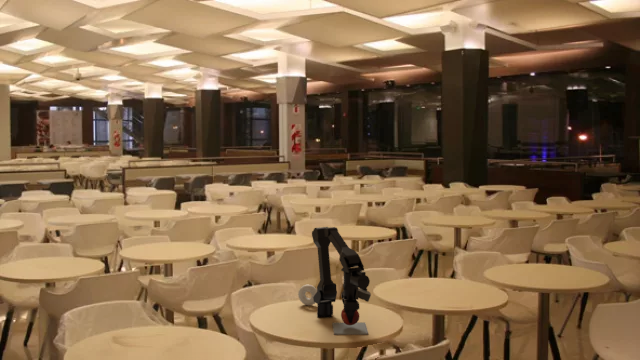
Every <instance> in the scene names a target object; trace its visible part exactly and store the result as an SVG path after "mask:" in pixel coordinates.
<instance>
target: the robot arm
mask: <svg viewBox="0 0 640 360" xmlns="http://www.w3.org/2000/svg"><path fill="white" fill-rule="evenodd" d="M311 237H312V242H313V243H314V245H315V247H316V248H317V258H318V268H319V269H318V271H319V282H318V284H317V286H316V289H317V292H316V294H315V295H314V297H313V299H314V302H315V304H316V306H317V310H316V317H317V318H333V315H334V304H332V303H335V302H336V300H337V294H338V291H337V283H334V281H333V280H332V275H331V274H332V273H331V271H332V270H331V262H330V249H329V247H330V245H332V246H333V247H334V248H335V250H336V252H337V254H339V255H338V256H339V258H338V260H339V262H340V265H341V266H342V268H340V269H341V270H340V271H342V272H343V284H342V288H343V290H342V291H341V301H342V304H343V309H344V310H345V313H346V315H347V318H348V321H349V323H352V321H353V317H354V313H355V311H356V310H357V311H358V310H360V302H359V299H360V300H363V301H365V302H367V303H368V302H369V301H370V299H371V295H372V293H371V292H370V291H368V287H369V286H370V281H371V280H370V278H369V276H368V275H366V273H367V272H366V271H365V268H364V267H365V266H364V264H363V262H362V259H361V257H360V255H359V253H358V252H357V251H356V250H354V249H352V248H351V247H349V245H348V244H347V243H346V241H345V240H344V238H343V236H342V235H341V234H340V232H339V230H338V228H337V227H335V226H334V227H333V226H332V227H331V226H330V227H328V226H322V227H320V226H319V227H314V228H313V230H312V231H311Z"/></svg>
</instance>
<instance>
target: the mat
mask: <svg viewBox="0 0 640 360" xmlns="http://www.w3.org/2000/svg"><path fill="white" fill-rule="evenodd" d="M332 330H333V335H334V336H335V335H336V336H342V335H343V336H347V335H348V336H352V335H353V336H354V335H355V336H357V335H359V336H364V335H369V330H368V327H367V323H366V322H364V321H363V322H360V321H358V322H357V323H356V324H354V325H346V324H345V323H344V322H332Z"/></svg>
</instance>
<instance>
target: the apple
mask: <svg viewBox="0 0 640 360" xmlns="http://www.w3.org/2000/svg"><path fill="white" fill-rule="evenodd" d="M340 317H341V321H342V323H345V324H346V325H354V324H356V323H357V322H359V320H360V313H359V311H358V310H356V311H355V313H354V317H353V321H352V323H349V321H348V318H347V315H346V313H345V310H344V308H343V309H342V310H341V314H340Z"/></svg>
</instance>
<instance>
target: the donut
mask: <svg viewBox="0 0 640 360" xmlns="http://www.w3.org/2000/svg"><path fill="white" fill-rule="evenodd" d="M307 292H308V293H310V295H311V297H307V296H306V293H307ZM316 292H317V287H315V286H314V285H312V284H308V283H307V284H304V285H302V286H301V287H300V288H299V290H298V292H297V293H298V294H297V295H298V296H297V297H298V298H299V301H300V302H301V303H302V304H303V305H306V306H312V305H315V304H316V303H315V302H314V299H313V297H314V295H315V294H316Z"/></svg>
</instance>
